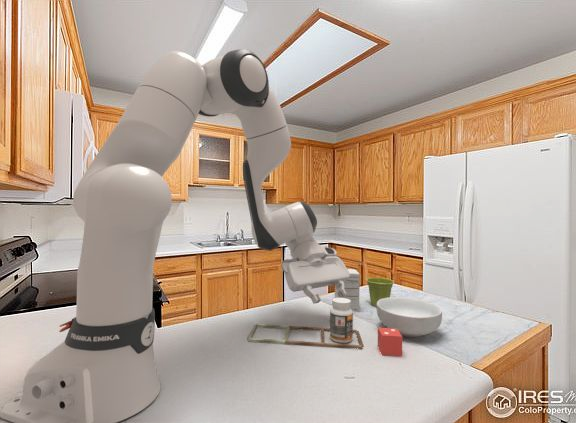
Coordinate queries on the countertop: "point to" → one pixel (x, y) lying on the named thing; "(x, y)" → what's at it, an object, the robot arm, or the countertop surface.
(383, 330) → the red die
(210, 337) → the countertop surface
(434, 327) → the cereal bowl
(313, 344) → the track frame
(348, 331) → the pill bottle
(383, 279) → the plant pot
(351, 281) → the supplement box
